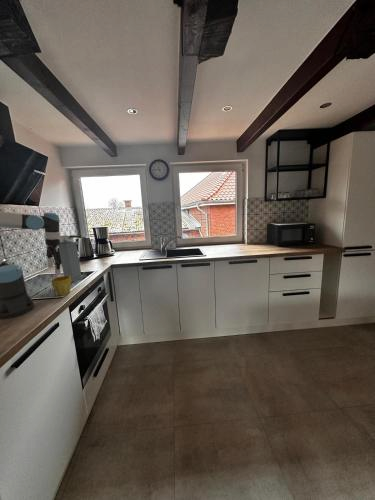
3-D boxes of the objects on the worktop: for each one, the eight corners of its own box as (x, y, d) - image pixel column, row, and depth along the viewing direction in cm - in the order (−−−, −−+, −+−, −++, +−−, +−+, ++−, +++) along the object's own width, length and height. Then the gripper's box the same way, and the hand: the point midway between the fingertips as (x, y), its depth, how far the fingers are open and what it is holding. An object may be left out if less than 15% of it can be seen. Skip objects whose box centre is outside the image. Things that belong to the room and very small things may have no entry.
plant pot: (51, 298, 118) (48, 282, 116) (57, 291, 128) (54, 276, 126) (70, 295, 121) (68, 279, 119) (75, 289, 131) (72, 274, 129)
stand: (84, 277, 153) (78, 241, 147) (72, 282, 144) (66, 243, 138) (74, 277, 156) (67, 241, 151) (62, 281, 147) (55, 243, 141)
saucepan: (85, 241, 144) (84, 234, 143) (76, 243, 136) (74, 236, 135) (67, 241, 150) (66, 234, 149) (57, 243, 142) (55, 236, 141)
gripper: (67, 242, 119) (68, 275, 124) (52, 233, 134) (54, 263, 139) (52, 243, 113) (54, 278, 118) (39, 234, 128) (41, 265, 134)
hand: (54, 270), depth 129 cm, fingers open, 13 cm apart
